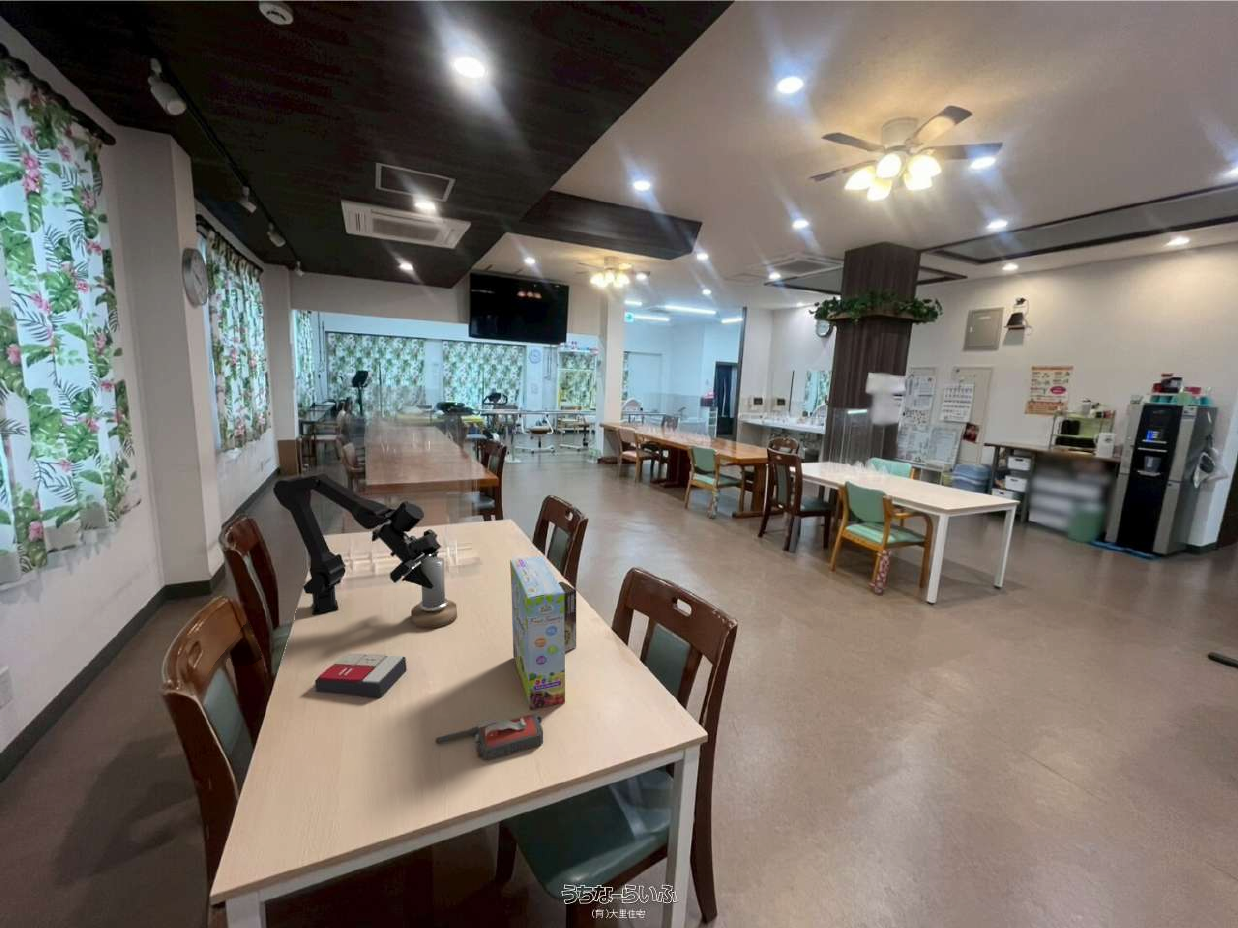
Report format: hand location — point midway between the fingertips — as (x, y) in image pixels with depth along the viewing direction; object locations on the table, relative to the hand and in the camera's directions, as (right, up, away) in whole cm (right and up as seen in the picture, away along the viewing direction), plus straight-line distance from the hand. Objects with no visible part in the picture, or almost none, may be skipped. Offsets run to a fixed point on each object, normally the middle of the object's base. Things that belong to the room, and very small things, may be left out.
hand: (437, 583), depth 143 cm
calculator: (-7, -16, -27) cm, 32 cm away
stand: (-2, -11, +2) cm, 11 cm away
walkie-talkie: (+26, -21, -45) cm, 56 cm away
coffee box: (+34, -14, -11) cm, 39 cm away
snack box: (+31, -17, -24) cm, 43 cm away
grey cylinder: (-2, -6, +1) cm, 7 cm away
